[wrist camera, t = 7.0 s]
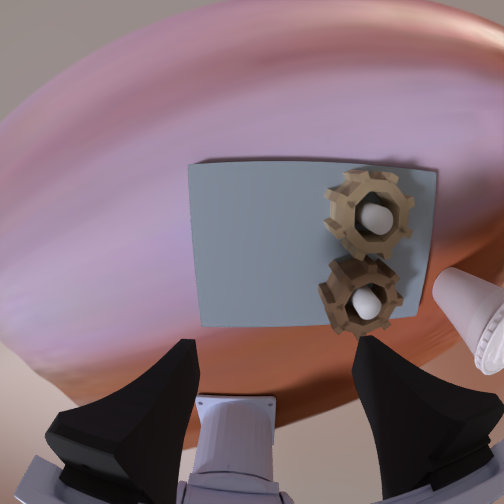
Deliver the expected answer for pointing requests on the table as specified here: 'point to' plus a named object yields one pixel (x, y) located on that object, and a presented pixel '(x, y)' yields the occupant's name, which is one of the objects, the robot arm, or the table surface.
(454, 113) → the table surface
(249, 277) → the gear board
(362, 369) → the robot arm
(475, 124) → the table surface
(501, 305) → the smoothie
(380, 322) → the walnut gear
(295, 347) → the table surface
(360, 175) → the beech gear
